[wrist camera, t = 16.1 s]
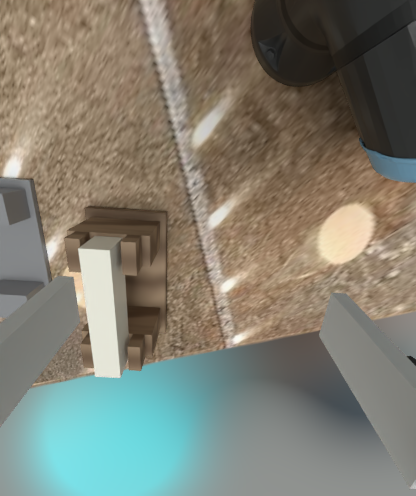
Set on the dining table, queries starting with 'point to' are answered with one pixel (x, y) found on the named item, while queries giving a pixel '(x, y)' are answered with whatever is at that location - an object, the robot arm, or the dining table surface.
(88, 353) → the notched wooden cradle
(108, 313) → the white rectangular bar
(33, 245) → the stand
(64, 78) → the dining table surface
